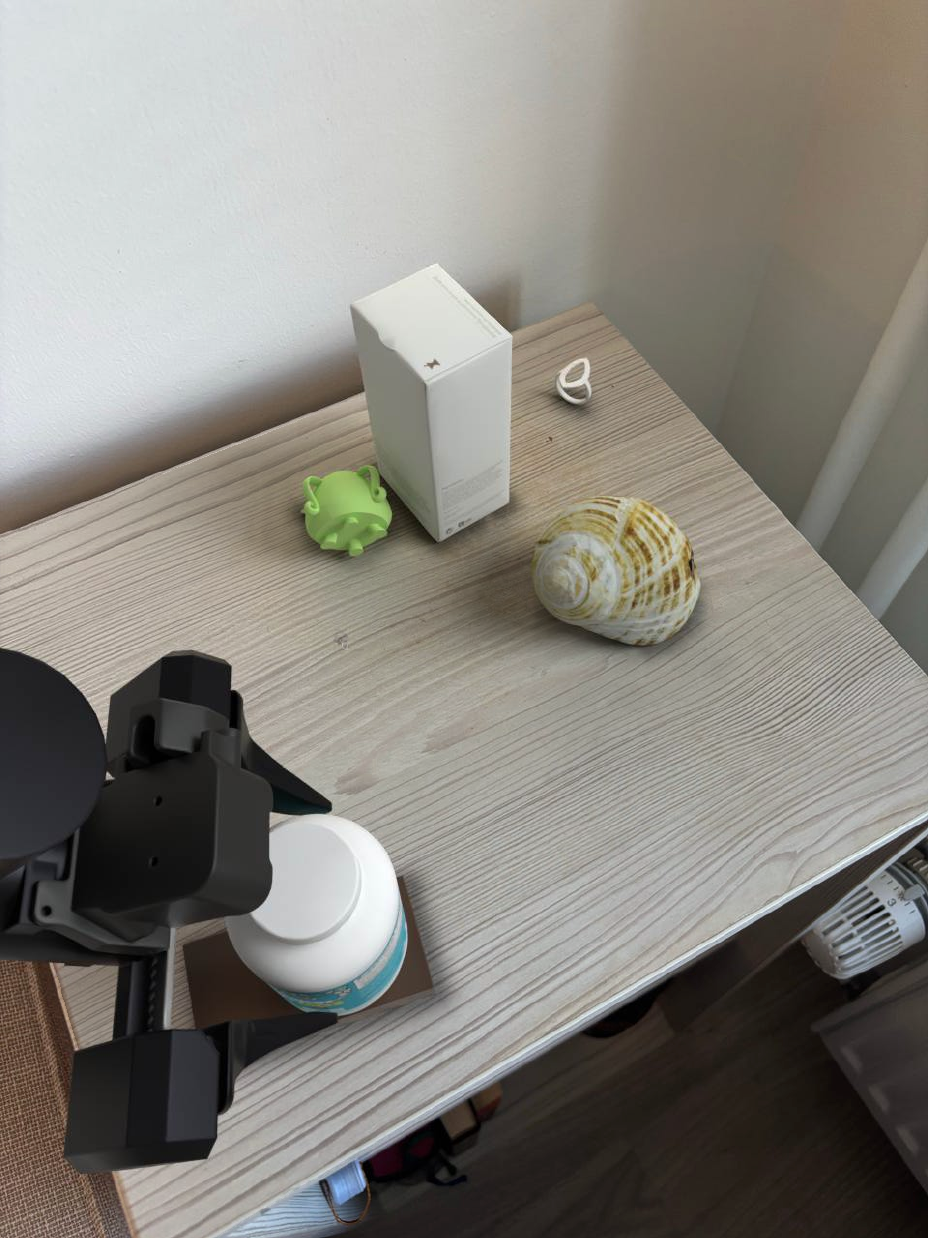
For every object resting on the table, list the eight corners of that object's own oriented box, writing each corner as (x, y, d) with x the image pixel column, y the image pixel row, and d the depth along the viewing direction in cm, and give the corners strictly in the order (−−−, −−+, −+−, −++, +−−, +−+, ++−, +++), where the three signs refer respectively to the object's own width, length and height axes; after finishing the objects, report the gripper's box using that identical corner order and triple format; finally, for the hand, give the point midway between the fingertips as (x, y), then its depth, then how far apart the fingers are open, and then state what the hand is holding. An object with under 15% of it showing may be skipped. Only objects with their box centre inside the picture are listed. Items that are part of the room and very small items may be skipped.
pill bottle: (237, 962, 48) (163, 900, 36) (326, 845, 51) (285, 753, 39) (351, 1052, 46) (313, 1017, 34) (437, 924, 49) (429, 852, 37)
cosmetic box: (510, 505, 65) (522, 338, 52) (432, 549, 63) (424, 387, 50) (445, 431, 69) (440, 256, 55) (369, 470, 67) (345, 299, 53)
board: (212, 1070, 47) (200, 1066, 45) (193, 953, 50) (181, 944, 48) (436, 994, 49) (434, 987, 47) (405, 886, 52) (403, 874, 50)
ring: (548, 389, 71) (553, 361, 68) (581, 384, 71) (587, 356, 69) (557, 415, 70) (562, 387, 67) (590, 409, 70) (597, 382, 67)
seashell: (732, 589, 61) (720, 553, 52) (623, 687, 62) (592, 669, 53) (630, 487, 65) (602, 436, 55) (529, 581, 66) (484, 547, 57)
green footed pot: (386, 495, 66) (380, 441, 61) (403, 555, 63) (397, 505, 58) (301, 512, 65) (287, 460, 60) (314, 575, 62) (301, 525, 57)
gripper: (28, 1172, 22) (480, 1129, 32) (104, 531, 31) (436, 655, 41) (-130, 1196, 28) (289, 1154, 38) (-28, 658, 38) (287, 739, 48)
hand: (329, 909), depth 41 cm, fingers open, 9 cm apart
